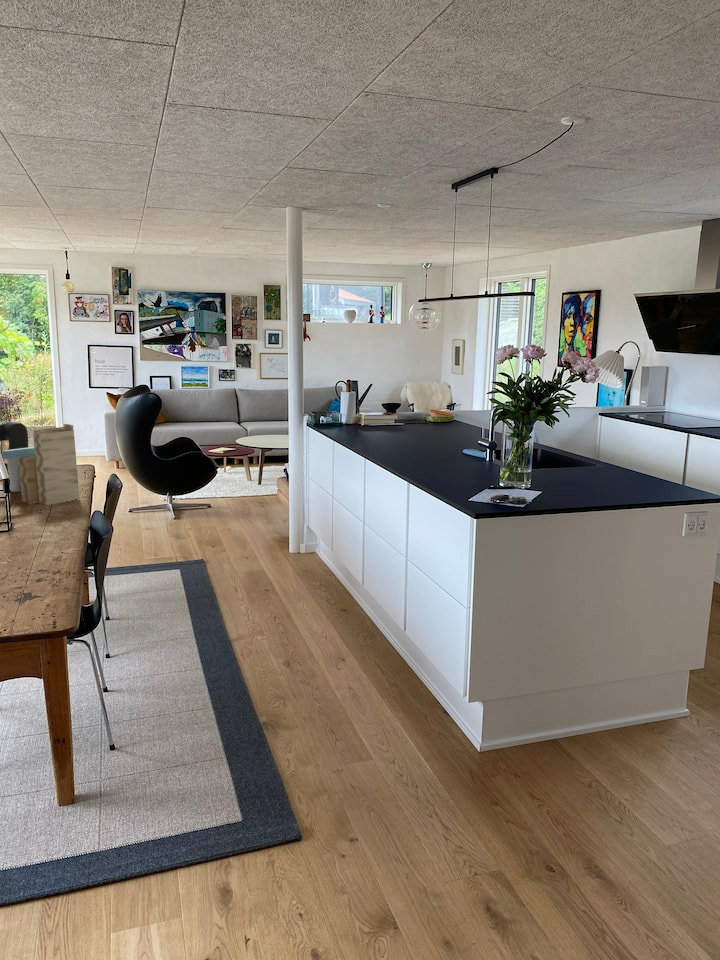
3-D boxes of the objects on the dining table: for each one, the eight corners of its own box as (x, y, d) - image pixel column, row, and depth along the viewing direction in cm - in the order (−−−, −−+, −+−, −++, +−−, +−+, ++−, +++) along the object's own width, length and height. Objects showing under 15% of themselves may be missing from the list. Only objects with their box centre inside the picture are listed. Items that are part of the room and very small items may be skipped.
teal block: (2, 458, 324) (2, 450, 323) (51, 452, 340) (50, 444, 339) (6, 459, 322) (5, 451, 321) (54, 453, 338) (54, 445, 337)
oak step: (22, 500, 335) (17, 455, 331) (51, 495, 345) (47, 451, 341) (30, 503, 330) (25, 457, 326) (60, 498, 340) (56, 453, 336)
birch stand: (39, 502, 332) (32, 426, 325) (70, 496, 343) (64, 423, 336) (47, 505, 327) (40, 428, 320) (79, 499, 338) (73, 425, 331)
